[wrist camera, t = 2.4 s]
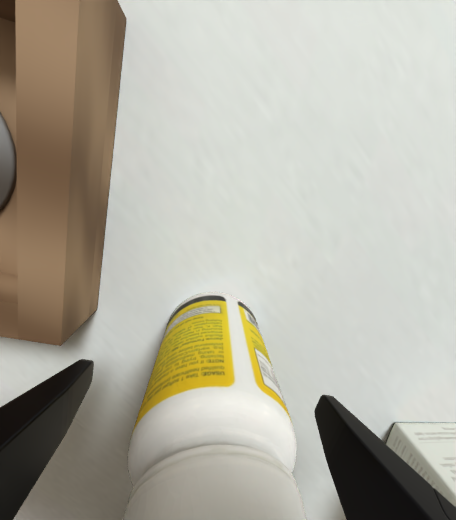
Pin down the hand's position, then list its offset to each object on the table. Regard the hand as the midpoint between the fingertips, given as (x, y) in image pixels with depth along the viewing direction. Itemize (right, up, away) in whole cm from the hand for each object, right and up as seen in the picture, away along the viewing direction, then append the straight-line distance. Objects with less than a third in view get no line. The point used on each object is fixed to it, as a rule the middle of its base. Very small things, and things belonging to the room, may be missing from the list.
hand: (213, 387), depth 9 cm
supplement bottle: (0, +1, +4) cm, 4 cm away
